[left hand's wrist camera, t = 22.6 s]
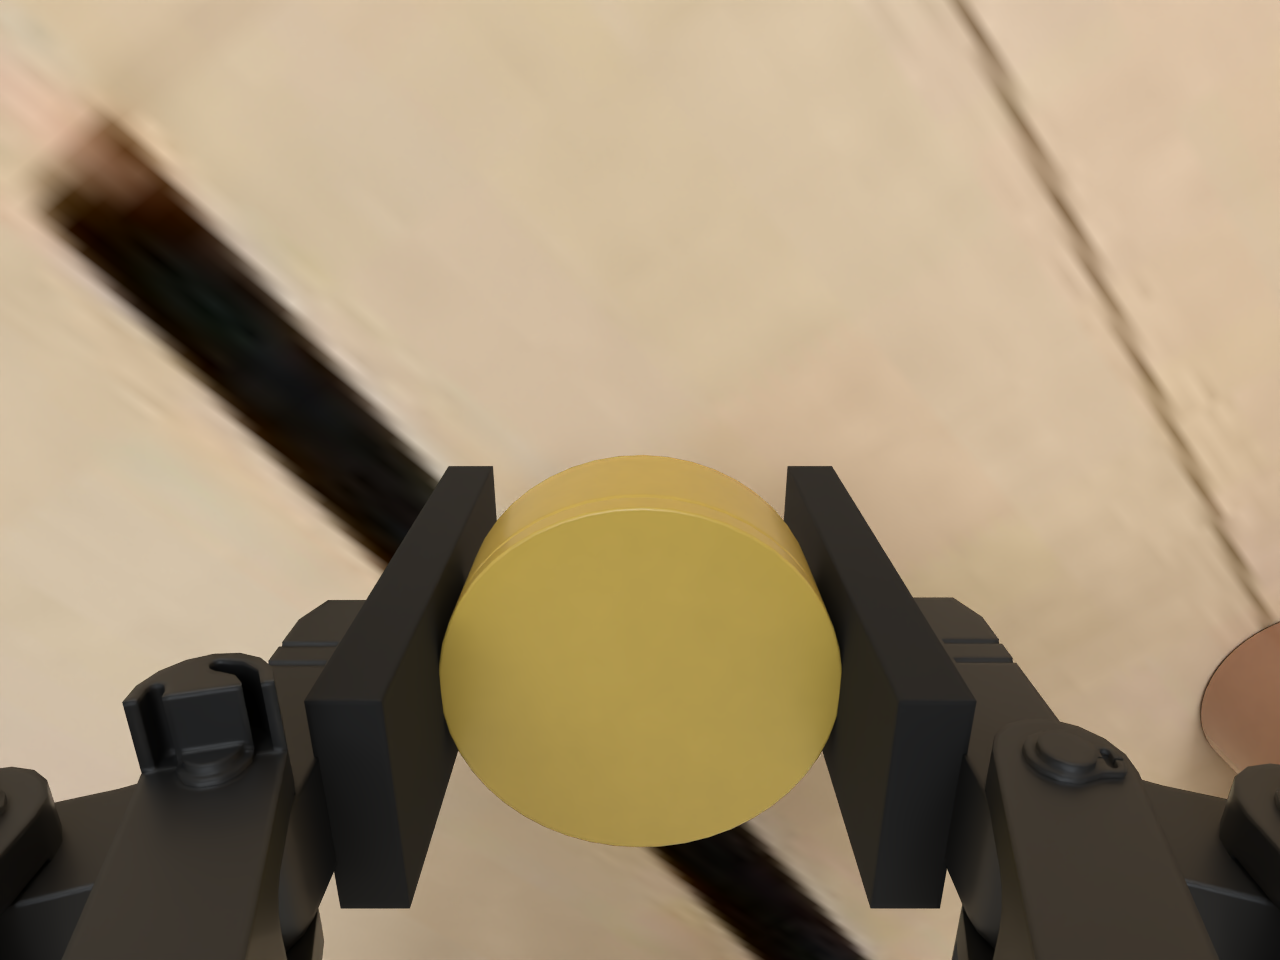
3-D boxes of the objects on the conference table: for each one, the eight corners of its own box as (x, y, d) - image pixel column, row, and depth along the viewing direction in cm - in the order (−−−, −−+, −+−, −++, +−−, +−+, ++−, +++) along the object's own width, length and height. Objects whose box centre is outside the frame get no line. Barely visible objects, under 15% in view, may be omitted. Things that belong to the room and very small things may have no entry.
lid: (748, 399, 11) (768, 444, 9) (855, 697, 13) (890, 783, 11) (405, 527, 12) (364, 593, 10) (551, 794, 13) (537, 890, 12)
